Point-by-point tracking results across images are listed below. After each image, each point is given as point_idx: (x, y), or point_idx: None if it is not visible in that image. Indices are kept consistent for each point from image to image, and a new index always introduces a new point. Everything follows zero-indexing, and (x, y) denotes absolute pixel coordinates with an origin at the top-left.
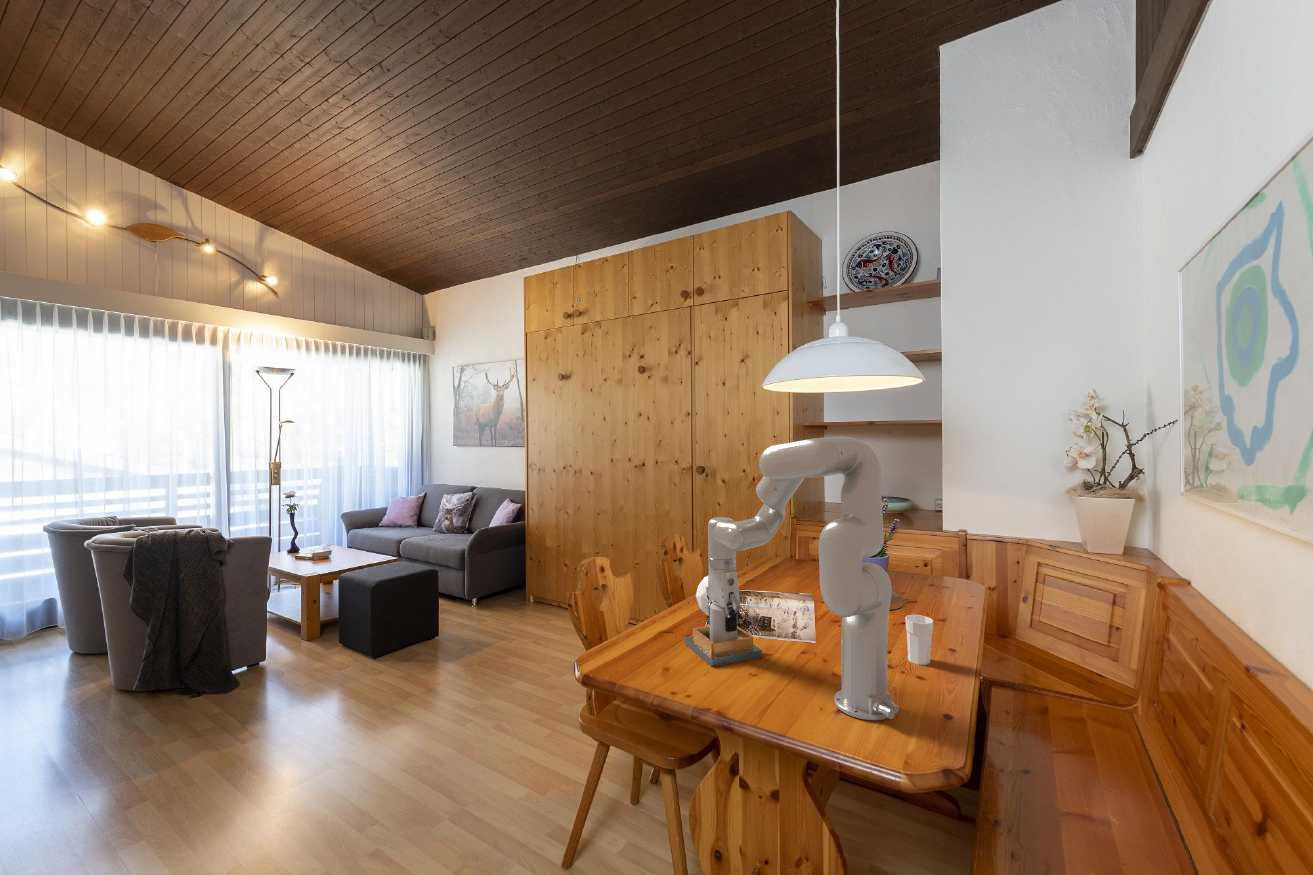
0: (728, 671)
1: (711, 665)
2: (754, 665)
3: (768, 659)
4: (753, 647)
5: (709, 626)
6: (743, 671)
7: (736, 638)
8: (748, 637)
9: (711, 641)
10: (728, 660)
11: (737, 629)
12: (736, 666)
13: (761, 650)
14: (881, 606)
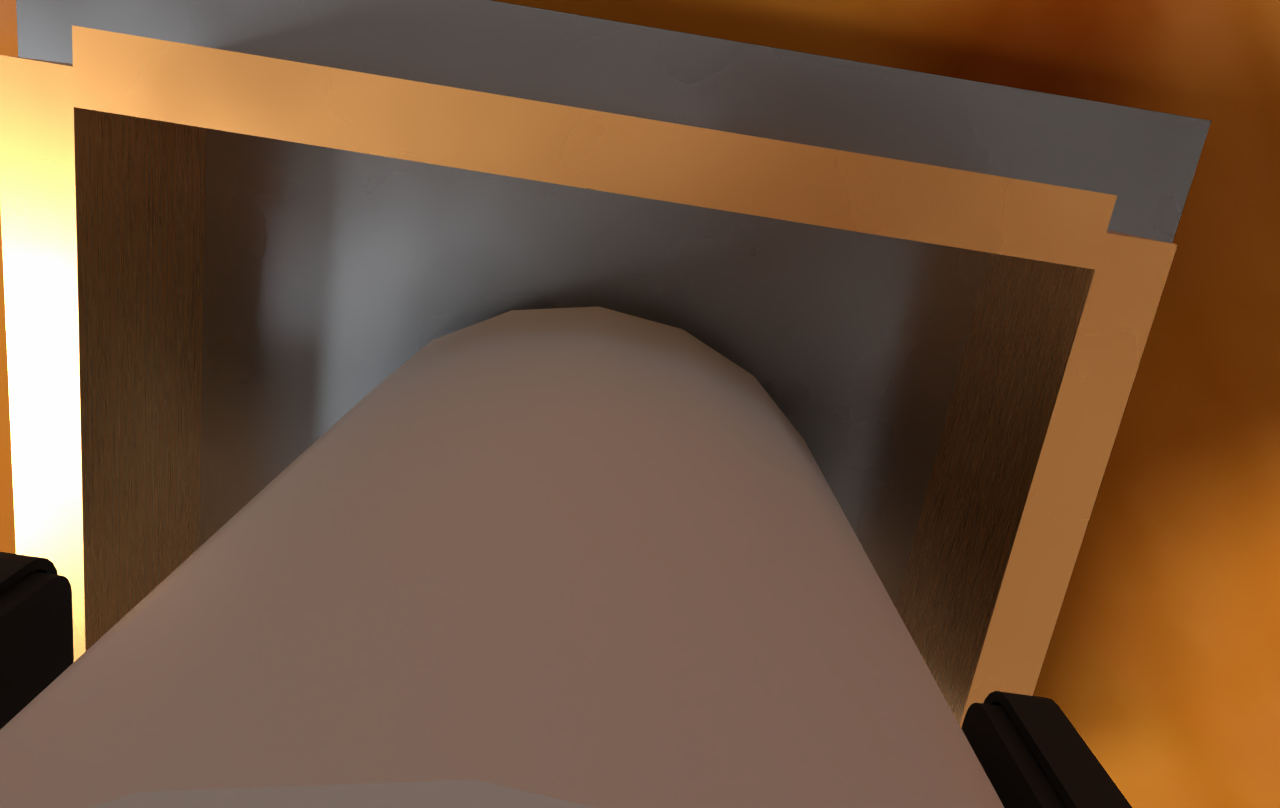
0: (1132, 799)
1: None
2: (1248, 419)
3: (1261, 78)
4: (1021, 177)
5: (74, 651)
6: (1266, 657)
7: (805, 449)
8: (1100, 338)
9: None
10: None
11: (484, 171)
12: (1096, 640)
13: (1205, 129)
14: None
